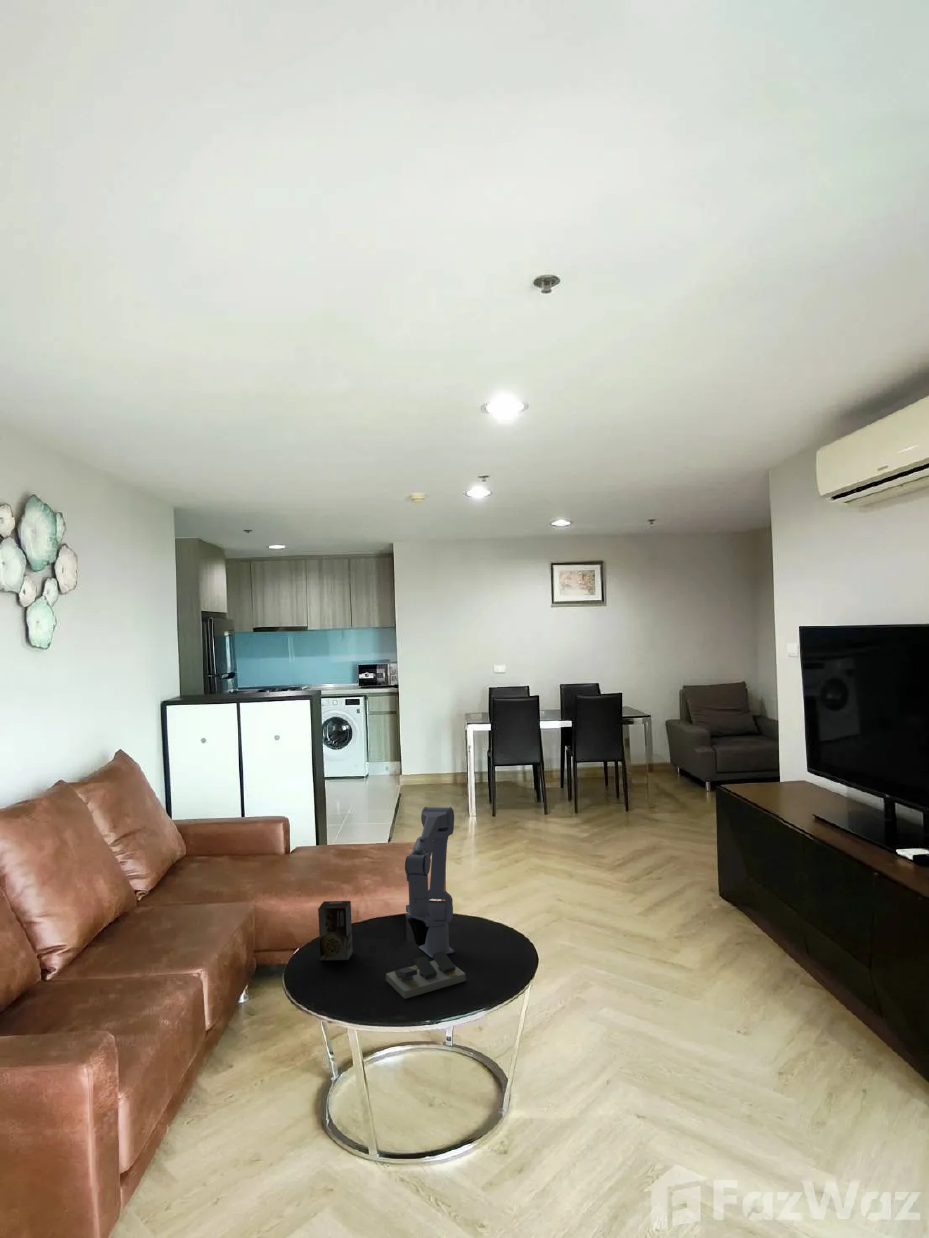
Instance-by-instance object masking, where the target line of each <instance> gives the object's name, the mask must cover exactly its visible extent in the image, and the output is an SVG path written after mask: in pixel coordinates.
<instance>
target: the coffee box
mask: <svg viewBox="0 0 929 1238" xmlns="http://www.w3.org/2000/svg"><path fill="white" fill-rule="evenodd" d="M351 903H352V902H351V900H327V901H323V902H322V903H321V904H320V906H319V907H318V908H317V911H318V912H317V916H318V935H319V938H318V939H319V961H348V960H349V959H350V957H352V955H353V953H354V952H353V951H354V950H353V930H352V928H353V927H352V904H351Z"/></svg>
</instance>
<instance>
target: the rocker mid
mask: <svg viewBox="0 0 929 1238" xmlns="http://www.w3.org/2000/svg"><path fill="white" fill-rule="evenodd" d="M413 963H414V966H415V965H416V966H417V968H418V969H419V970H420V972H421V973H422V975H423V976H424V978H425V979H427V978H431V977H434V976H437V972H436V970H435V969H434V967H433V966H432V965H431V963H430V961H429V959H428V958H427V956H425V955H423V956H421V957H420V956H419V957H417V958H414V962H413Z"/></svg>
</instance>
